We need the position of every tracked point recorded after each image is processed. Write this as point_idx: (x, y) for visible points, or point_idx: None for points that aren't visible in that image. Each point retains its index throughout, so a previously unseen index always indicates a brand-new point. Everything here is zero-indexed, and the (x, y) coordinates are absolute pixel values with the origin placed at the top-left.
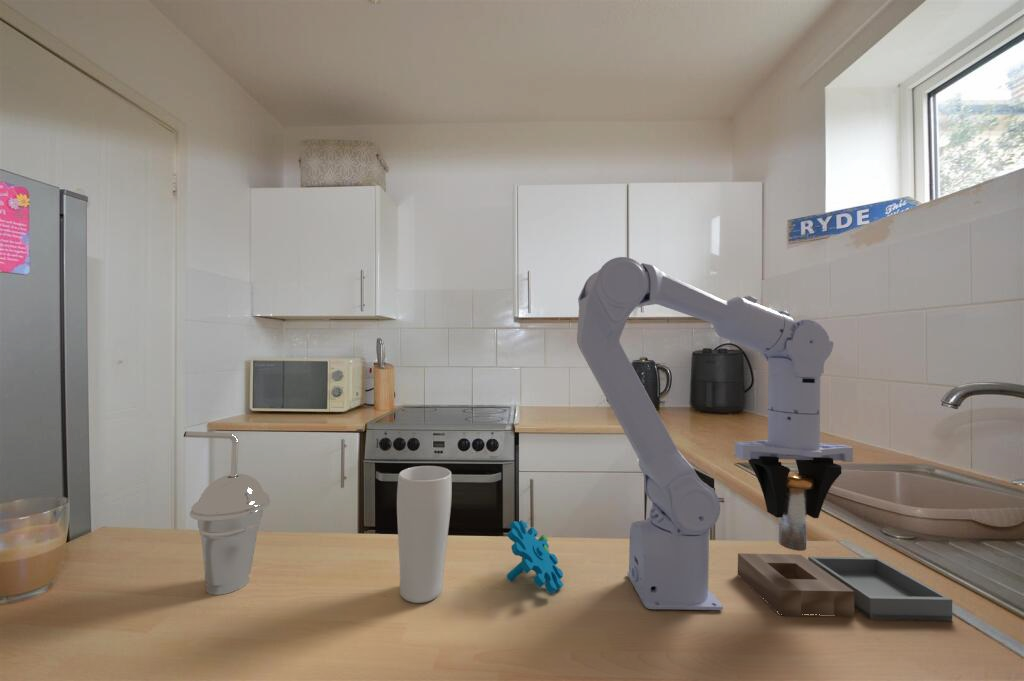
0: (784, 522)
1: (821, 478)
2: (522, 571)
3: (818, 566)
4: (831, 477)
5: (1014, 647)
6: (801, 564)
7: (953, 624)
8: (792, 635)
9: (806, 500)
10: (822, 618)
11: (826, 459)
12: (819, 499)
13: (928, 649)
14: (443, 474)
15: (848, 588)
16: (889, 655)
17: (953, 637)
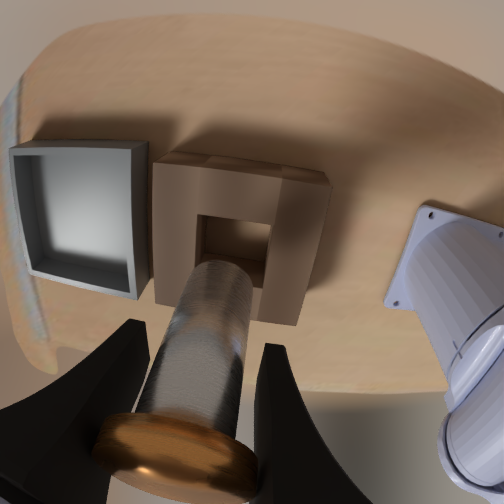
0: (245, 333)
1: (63, 439)
2: None
3: (137, 273)
4: (19, 423)
5: (13, 87)
6: (184, 271)
7: (35, 132)
8: (350, 119)
9: (152, 377)
10: (241, 152)
11: (5, 495)
12: (105, 364)
13: (124, 65)
14: None
15: (156, 173)
16: (210, 49)
17: (60, 99)
